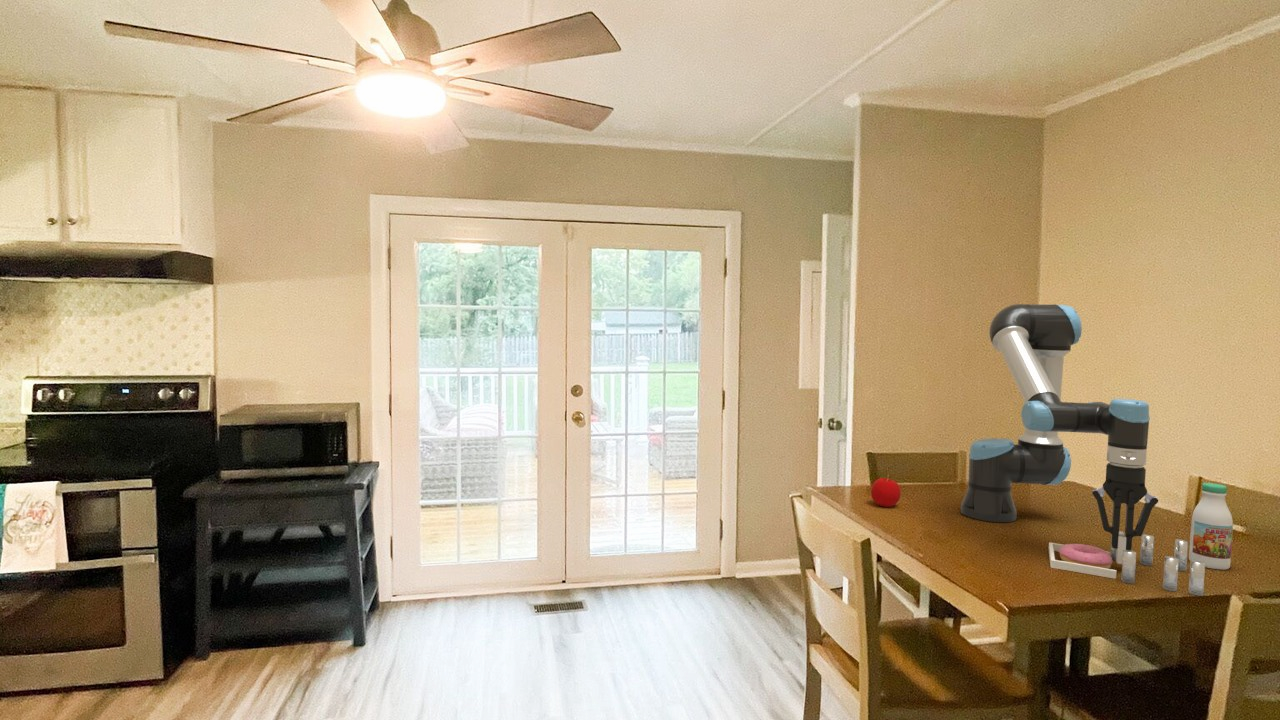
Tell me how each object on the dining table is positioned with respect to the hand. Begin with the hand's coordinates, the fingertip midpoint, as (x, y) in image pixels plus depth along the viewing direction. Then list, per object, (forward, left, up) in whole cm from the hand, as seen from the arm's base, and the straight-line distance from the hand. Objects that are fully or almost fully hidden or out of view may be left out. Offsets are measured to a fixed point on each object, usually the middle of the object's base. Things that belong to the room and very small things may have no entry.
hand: (1120, 562), depth 157 cm
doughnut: (-7, 0, -2) cm, 7 cm away
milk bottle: (+20, +17, -2) cm, 26 cm away
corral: (-7, 0, -2) cm, 7 cm away
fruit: (-58, +28, -2) cm, 65 cm away
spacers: (+7, 0, -2) cm, 7 cm away
